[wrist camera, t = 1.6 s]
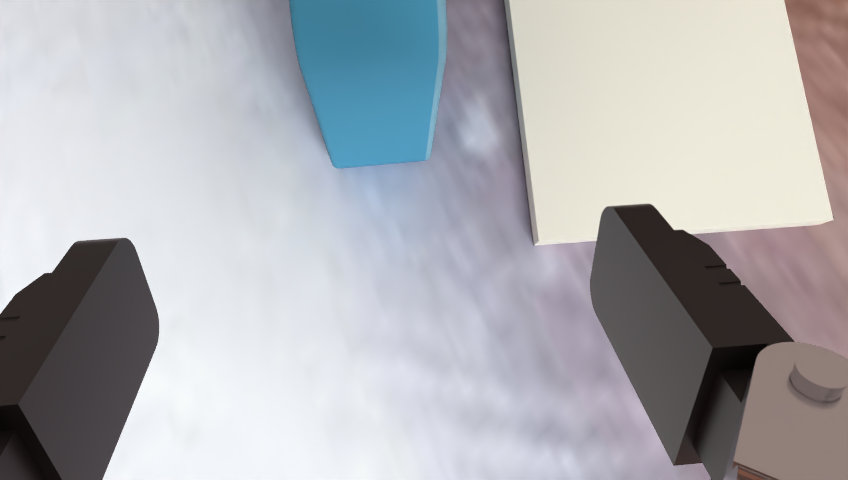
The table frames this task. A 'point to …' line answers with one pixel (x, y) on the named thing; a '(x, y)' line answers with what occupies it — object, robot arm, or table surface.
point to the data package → (373, 75)
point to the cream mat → (663, 115)
